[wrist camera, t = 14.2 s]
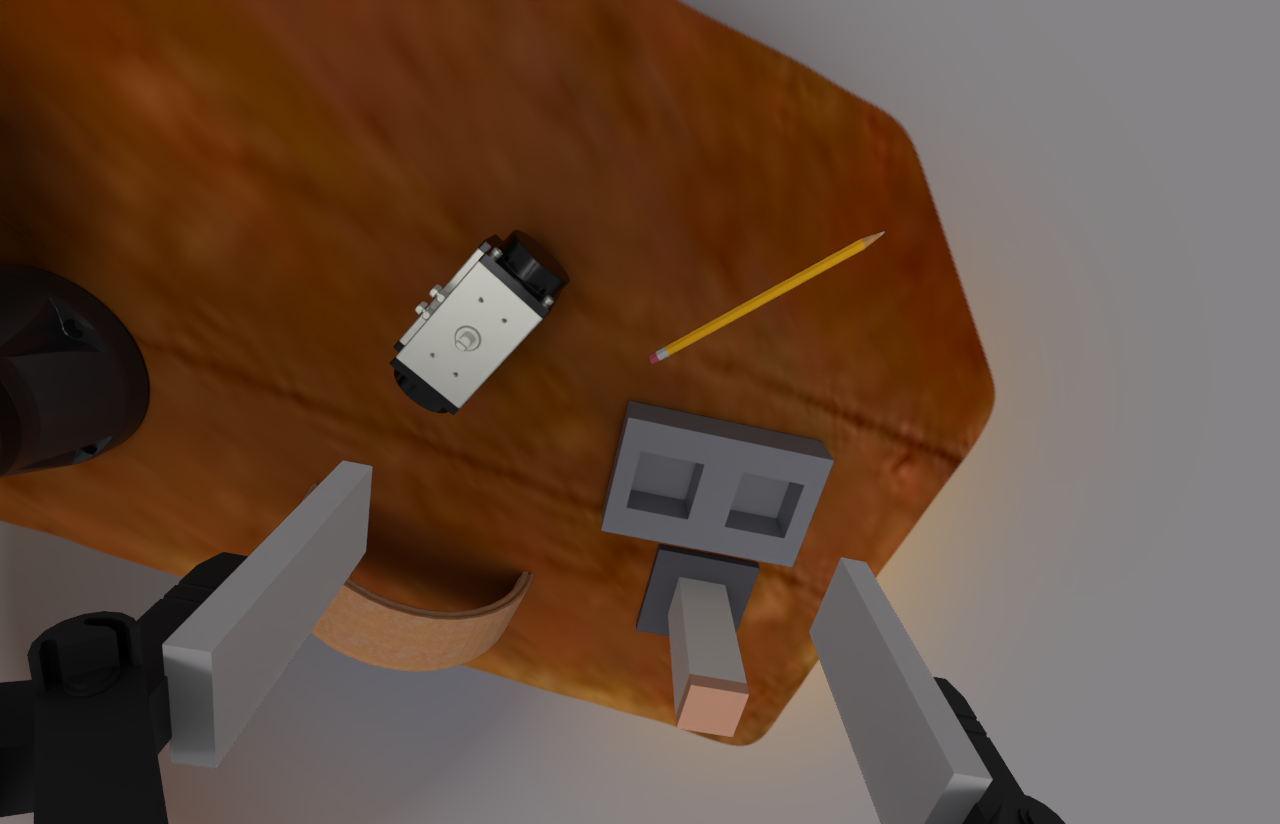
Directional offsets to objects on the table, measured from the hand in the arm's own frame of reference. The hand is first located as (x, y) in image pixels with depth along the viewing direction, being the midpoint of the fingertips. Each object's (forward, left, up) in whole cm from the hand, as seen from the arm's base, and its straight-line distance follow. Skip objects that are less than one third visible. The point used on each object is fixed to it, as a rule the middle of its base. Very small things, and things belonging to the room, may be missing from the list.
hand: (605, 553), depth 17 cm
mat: (+12, -24, -31) cm, 41 cm away
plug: (+12, -24, -30) cm, 40 cm away
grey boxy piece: (+10, -12, -31) cm, 34 cm away
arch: (-13, -25, -31) cm, 42 cm away
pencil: (+10, +3, -31) cm, 33 cm away
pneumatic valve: (-9, -1, -31) cm, 32 cm away
